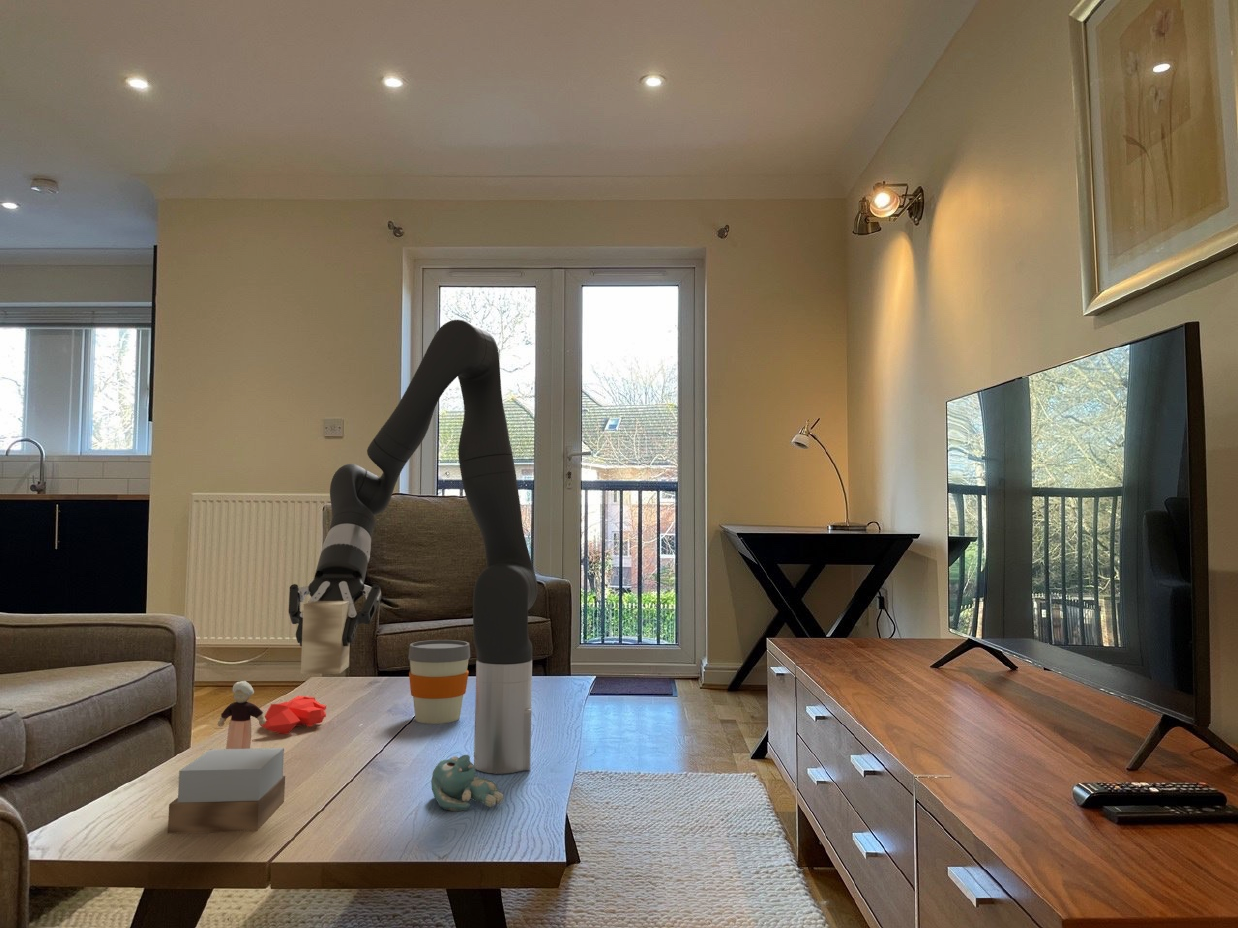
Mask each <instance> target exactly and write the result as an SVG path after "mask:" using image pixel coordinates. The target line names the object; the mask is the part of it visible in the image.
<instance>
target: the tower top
mask: <svg viewBox="0 0 1238 928" xmlns="http://www.w3.org/2000/svg"><path fill="white" fill-rule="evenodd" d="M284 753H285V747H270V748H269V747H267V748H266V747H265V748H264V747H263V748H262V747H261V748H250V749H226V748H224V749H223V748H220V749H219V748H218V749H217V748H215V749H213V748H212V749H208V750H207V751H206V752H205V753H202V755H200V756H199V757H198V758H196V759H194V760H193V761H191V762H190V763H189V764H187V765H186V766H185V765H184V767H182V768H181V769H179V771H178V786H177V787H178V789H177V790H178V791H177V798H178V803H187V802H225V801H259V800H260V799H261V798H262V797H263V796H264V795H265V794H266V793H267V792H268V791H269V790H270V789H271V788H272V787H273V786H274V785H275V784H276V783H277V782H278V781H279V780H280V779H281V778H282V777H283V776H284V757H285V756H284V755H285V754H284Z"/></svg>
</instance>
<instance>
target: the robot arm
mask: <svg viewBox="0 0 1238 928" xmlns="http://www.w3.org/2000/svg"><path fill="white" fill-rule="evenodd" d="M500 362H501V361H500V351H499V348H498V345H497V342H496V340H495V338H494V337H493V336H492V334H491V333H490V332H488V330H486V329H485V328H482V327H480V326H478V325H476V324H474V323H471V322H469V321H468V320H464V319H452V320H450V321H447V322H445V323H444V324H443V325H442V326H441V327H439V329H438V330H437V331H436V333H435V334H434V336H433V338H432V339H431V341H430V343H429V345H428V347H427V349H426V351H425V353H424V355H423V358H422V359H421V361H420V363H419V365H418V367H417V369H416V371H415V373H414V375H413V377H412V378H411V381H410V383H409V384H408V386H407V387H406V389H405V392H404V394H403V395H402V397H401V399H400V401H399V402H398V404H397V406H396V407H395V408H394V410H393V411H392V413H391V414H390V416H389V417H388V419H387V420H386V421H385V422H384V424H383V426H381V428H380V429H379V431H378V432H377V434H376V435H375V437H374V438H373V439H372V440H371V442H370V444H369V445H368V447H367V450H366V454H367V456H368V458H369V459H370V460H371V461H372V463H373V464H375V465H376V466H377V467H378V468H379V469H380V470H381V471H382V474H381V475H380V476H378V475H376V474H375V473H372V472H371V471H369V470H367V469H365V468H363V467H362V466H360V465H358V464H356V463H347V464H343V465H342V466H341V467H339V468H338V469H337V470H336V471H335V472H334V473H333V476H332V478H331V482H330V486H329V499H330V505H331V506H330V507H331V522H330V526H329V529H328V532H327V535H326V537H325V540H324V542H323V544H322V548H321V551H320V556H319V559H318V563H317V565H316V570H315V573H314V578H313V580H312V581H311V582H310V583H309V585H307V586H300V587H299V585H298V584H296V583H293V584H291V585H290V586H289V594H288V596H289V597H288V598H289V599H288V615H289V619H290V622H291V624H292V625H297V628H296V631H295V637H296V641H297V643H298V644H299V646H300V647H301V648H302V629H303V610H302V611H301V603H304V600H305V599H306V597H307V596H310V599H308V602H307V603H309V602H311V601H349V608H348V618H346V622H345V627H344V631H343V635H342V642H343V646H349V643H350V644H352V643H353V642H354V640H355V636H356V631H357V628H358V626H359V625H361V624H364V625H368V624H370V623H371V622H372V619H373V618H374V615H375V614H376V611H377V609H378V605H380V601H381V600H382V591H381V586H380V585H379V584H373V585H372V586H368V585H367V586H365V584H364V583H365V579H366V576H367V575H366V574H367V570H368V564H369V562H370V557H371V550H372V549H371V548H372V547H371V546H372V539H373V535H374V530H375V525H376V519H375V516H378V515H379V514H381V513H382V512H384V511H385V510H386V508H387V507H388V505H389V503H390V502H391V499H392V495H393V493H394V490H395V486H396V484H397V481H398V480H399V477H400V474H401V473H402V471H403V469H404V468H405V466H406V464H407V463H408V461H409V460H410V459H411V457H413V455H414V453H415V452H416V451H417V449H418V448H419V447H420V445H421V443H422V442H423V440H424V439H425V437H426V434H427V432H428V430H429V427H430V424H431V421H432V418H433V415H434V412H435V409H436V406H437V404H438V403H439V400H440V399H441V397H442V395H443V393H444V392H445V391H446V389H447V388H448V387H449V386H450V385H451V384H452V383H453V382H454V381H455V379H456V378H457V379H458V382H459V386H460V391H461V394H462V395H461V396H462V400H463V401H462V402H463V411H464V413H463V422H462V426H461V430H460V431H461V432H460V436H459V441H458V449H457V451H458V452H457V454H458V455H457V456H458V463H459V470H460V471H459V472H460V475H461V476H460V477H461V481H462V482H461V483H462V487H463V491H464V495H465V498H466V501H467V502H468V503H467V504H468V506H469V507H470V508H469V509H470V510H471V512H472V515H473V518H474V520H475V521H476V524H477V526H478V528H479V530H480V534H481V535H482V540H483V544H484V545H483V546H484V550H485V559H486V568H485V569H483V571H482V572H481V573H480V574H479V576H478V577H477V579H476V581H475V583H474V588H473V597H472V625H473V626H472V629H473V630H472V632H473V633H472V635H473V636H472V637H473V644H474V647H475V650H476V662H475V663H476V665H475V671H476V672H475V702H474V703H475V705H474V706H475V707H474V742H473V744H474V747H473V765H474V766H475V770H477V771H479V772H482V773H488V774H497V775H498V774H512V773H517V772H522V771H530V770H531V753H532V751H531V750H532V748H531V747H532V746H531V745H532V744H531V743H532V689H533V686H532V685H533V684H532V683H533V681H532V680H533V644H532V642H531V640H530V637H529V610H530V609H531V608H532V607H533V606H534V604H535V601H537V600H536V599H537V595H538V590H539V589H538V588H539V587H538V586H539V585H538V581H537V580H538V579H537V576H536V573H535V570H534V567H533V563H532V559H531V556H530V552H529V548H528V545H527V544H528V543H527V542H526V536H525V532H524V526H523V517H522V516H523V515H522V508H521V500H520V494H519V487H518V478H517V473H516V468H515V467H516V466H515V461H514V455H513V448H512V445H511V440H510V436H509V430H508V429H509V428H508V424H507V423H508V422H507V418H506V417H507V416H506V413H505V408H504V403H503V401H504V400H503V395H502V394H503V393H502V383H501V365H500ZM364 595H365V601H364V604H363V607H362V608H361V610H359V611H356V608H355V603H356V602H357V601H358V600H360V599H361V598H362V597H363V596H364Z"/></svg>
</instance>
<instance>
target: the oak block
mask: <svg viewBox="0 0 1238 928" xmlns="http://www.w3.org/2000/svg"><path fill="white" fill-rule="evenodd" d="M302 607H303V609H302V611H303V629H302V647H301V655H300V656H301V659H300V675H324V674H325V675H328V674H329V675H330V674H332V675H333V674H334V675H335V674H336V675H338V674H339V675H340V674H342V673H343V672H344V671H345V670H347V668H349V667H350V649H351V648H350V644H351V643H349V646H343V642H342V635H343V631H344V627H345V622H346V618H348V608H349V601H311V602H309V603H308V602H305V603H304V604H302Z"/></svg>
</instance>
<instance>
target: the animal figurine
mask: <svg viewBox="0 0 1238 928" xmlns="http://www.w3.org/2000/svg"><path fill="white" fill-rule="evenodd" d="M326 710H327V705H326V704H322V703H319V702H318V701H317V700H316V699H315V697H313V696H303V695H297V696H295V697H293V698H292V699H290V700H288V701H284V702H280V703H272V704H271V703H270V706H269V707H268V709H267V710H266V713H265V715H264V719H265V721H266V722H265V724H264V725H260V724H259V726H260V727H263V728H265V729H266V730H268V731H271V732H274V733H277V734H280V735H281V734H283V735H288V734H290V732H291V731H292V730H293V729H294V728H295V727H296V726H305V727H310V728H311V727H313V725H317V724H322V722H323V721H324V719H325V718H326V717H327V712H326Z"/></svg>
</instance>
